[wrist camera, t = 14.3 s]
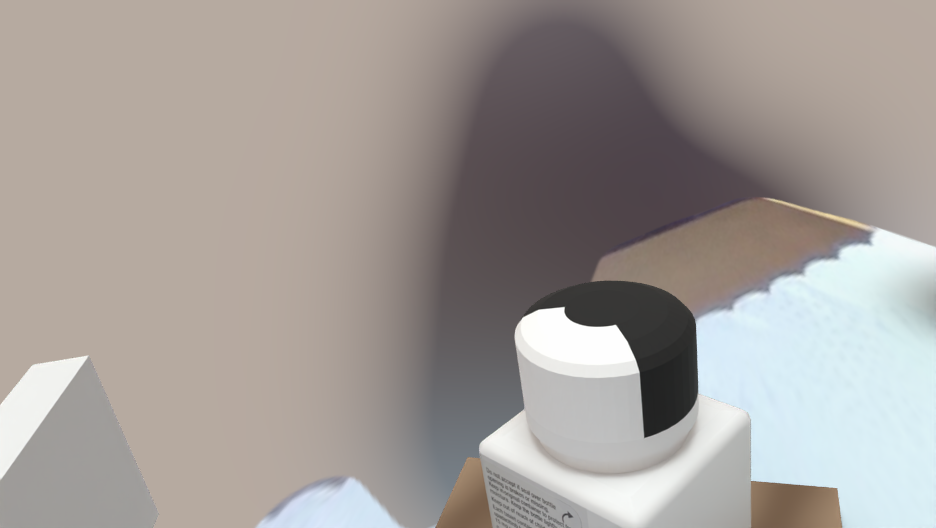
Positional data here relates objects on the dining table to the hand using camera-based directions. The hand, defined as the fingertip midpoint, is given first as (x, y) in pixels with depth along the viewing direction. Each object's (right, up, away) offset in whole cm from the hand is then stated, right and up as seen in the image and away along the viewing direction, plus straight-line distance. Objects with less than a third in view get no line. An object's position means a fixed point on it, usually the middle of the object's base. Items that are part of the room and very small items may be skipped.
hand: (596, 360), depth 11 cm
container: (+5, -12, +24) cm, 28 cm away
